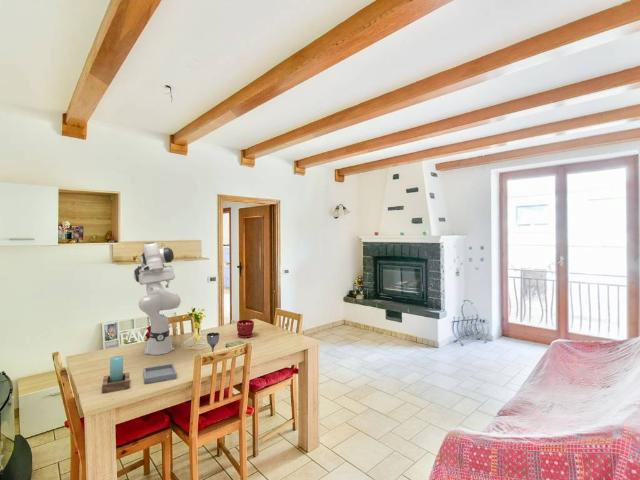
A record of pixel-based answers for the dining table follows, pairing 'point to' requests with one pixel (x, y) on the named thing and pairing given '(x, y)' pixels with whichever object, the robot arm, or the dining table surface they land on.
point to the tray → (159, 373)
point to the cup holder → (116, 384)
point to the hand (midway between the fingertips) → (159, 289)
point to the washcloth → (234, 343)
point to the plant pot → (245, 328)
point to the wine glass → (212, 339)
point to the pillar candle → (116, 369)
